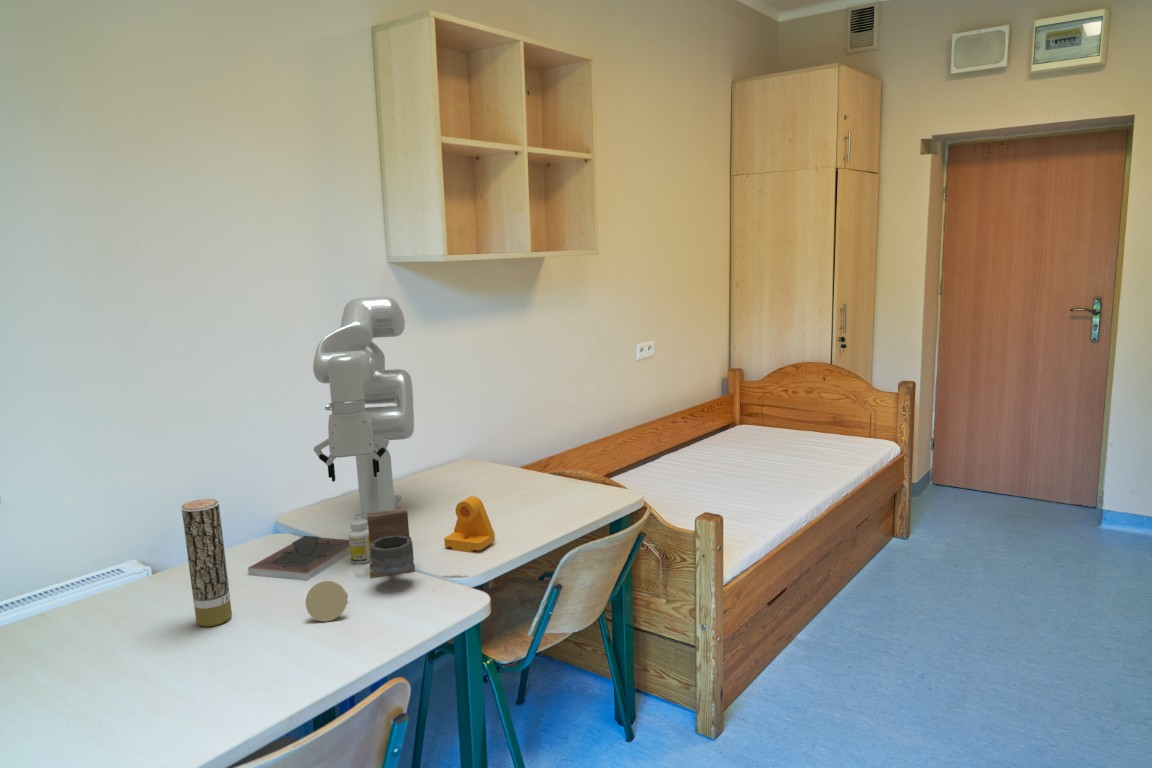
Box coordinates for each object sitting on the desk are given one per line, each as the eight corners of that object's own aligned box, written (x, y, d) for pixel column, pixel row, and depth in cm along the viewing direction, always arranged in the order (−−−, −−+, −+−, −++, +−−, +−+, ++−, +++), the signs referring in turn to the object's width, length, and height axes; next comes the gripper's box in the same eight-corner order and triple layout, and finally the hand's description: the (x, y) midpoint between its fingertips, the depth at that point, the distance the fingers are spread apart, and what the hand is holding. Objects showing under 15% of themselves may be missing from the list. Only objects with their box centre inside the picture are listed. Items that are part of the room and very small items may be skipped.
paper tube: (197, 631, 161) (181, 511, 157) (195, 618, 167) (180, 502, 163) (233, 622, 164) (219, 505, 160) (231, 610, 170) (217, 496, 166)
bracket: (443, 549, 200) (439, 502, 199) (459, 539, 207) (455, 494, 205) (480, 553, 196) (477, 506, 194) (495, 543, 203) (492, 498, 201)
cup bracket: (369, 568, 190) (364, 511, 187) (412, 562, 192) (408, 506, 190) (372, 596, 173) (366, 535, 171) (419, 589, 176) (414, 528, 174)
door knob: (314, 579, 172) (352, 575, 173) (315, 617, 171) (354, 613, 172) (304, 582, 163) (345, 579, 164) (306, 623, 162) (346, 619, 163)
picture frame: (305, 544, 210) (248, 576, 189) (304, 535, 209) (247, 566, 189) (360, 549, 204) (307, 582, 184) (359, 539, 204) (306, 572, 184)
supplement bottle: (366, 554, 199) (363, 516, 197) (378, 559, 195) (374, 521, 194) (346, 560, 195) (343, 522, 194) (358, 566, 191) (354, 526, 190)
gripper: (309, 413, 183) (316, 486, 186) (386, 406, 188) (392, 477, 190) (310, 408, 190) (317, 478, 193) (385, 401, 195) (390, 470, 197)
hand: (354, 477), depth 192 cm, fingers open, 9 cm apart
